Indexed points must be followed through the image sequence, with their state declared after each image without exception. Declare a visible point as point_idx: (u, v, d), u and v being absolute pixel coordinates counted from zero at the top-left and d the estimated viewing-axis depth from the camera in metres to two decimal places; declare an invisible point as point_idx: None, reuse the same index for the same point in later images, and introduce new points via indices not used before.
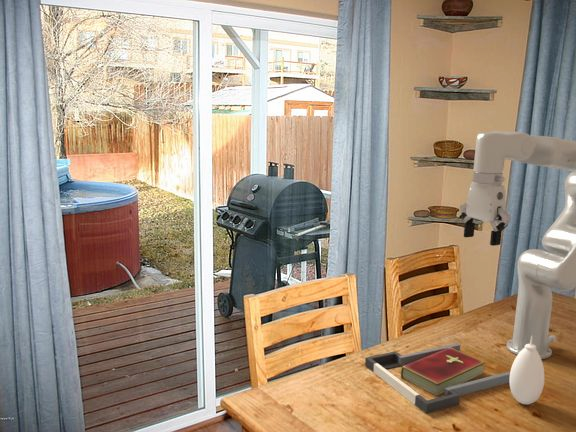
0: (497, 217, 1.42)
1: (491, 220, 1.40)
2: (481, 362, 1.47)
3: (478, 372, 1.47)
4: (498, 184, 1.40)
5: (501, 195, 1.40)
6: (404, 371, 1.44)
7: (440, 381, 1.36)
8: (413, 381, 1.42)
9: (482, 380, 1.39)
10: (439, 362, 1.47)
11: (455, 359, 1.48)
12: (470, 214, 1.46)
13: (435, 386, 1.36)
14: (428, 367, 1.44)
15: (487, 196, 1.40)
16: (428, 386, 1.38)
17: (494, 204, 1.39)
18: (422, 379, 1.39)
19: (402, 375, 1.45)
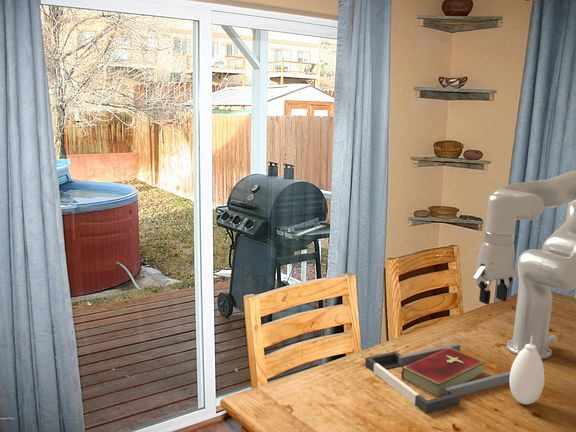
0: None
1: (512, 275, 1.48)
2: (481, 362, 1.47)
3: (478, 372, 1.47)
4: None
5: None
6: (405, 372, 1.44)
7: (441, 381, 1.36)
8: (414, 382, 1.42)
9: (482, 380, 1.39)
10: (440, 362, 1.46)
11: (455, 359, 1.48)
12: (493, 277, 1.45)
13: (436, 386, 1.36)
14: (428, 368, 1.43)
15: (511, 254, 1.46)
16: (429, 387, 1.38)
17: None
18: (423, 379, 1.39)
19: (403, 376, 1.44)
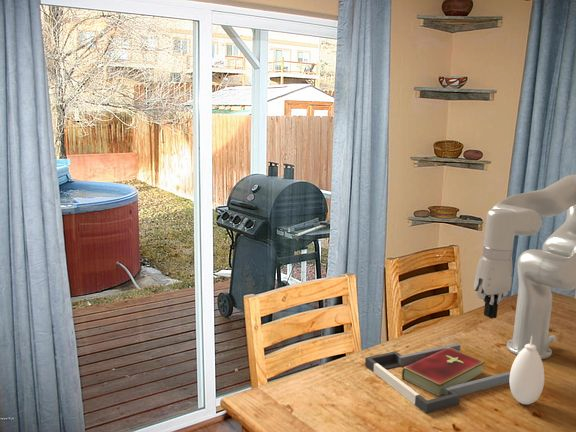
0: None
1: (509, 289, 1.49)
2: (481, 362, 1.48)
3: (478, 372, 1.47)
4: None
5: None
6: (405, 372, 1.44)
7: (442, 382, 1.36)
8: (415, 382, 1.41)
9: (482, 380, 1.39)
10: (440, 363, 1.46)
11: (455, 359, 1.48)
12: (491, 292, 1.46)
13: (437, 387, 1.36)
14: (429, 368, 1.43)
15: (509, 269, 1.47)
16: (430, 387, 1.38)
17: None
18: (424, 380, 1.39)
19: (403, 376, 1.44)
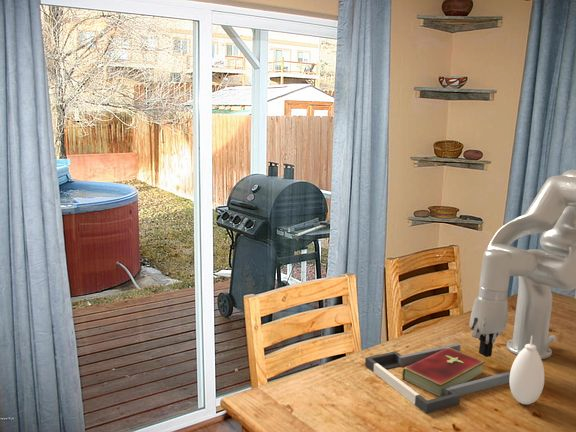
0: None
1: (504, 329, 1.51)
2: (481, 362, 1.48)
3: (478, 372, 1.47)
4: None
5: None
6: (406, 372, 1.43)
7: (443, 382, 1.36)
8: (415, 382, 1.41)
9: (482, 380, 1.39)
10: (440, 363, 1.46)
11: (455, 359, 1.48)
12: (486, 331, 1.48)
13: (438, 387, 1.36)
14: (429, 368, 1.43)
15: (504, 309, 1.49)
16: (431, 387, 1.37)
17: None
18: (425, 380, 1.39)
19: (404, 376, 1.44)
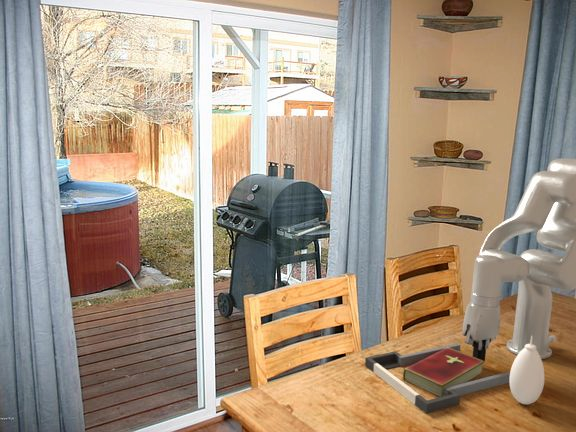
0: None
1: (497, 334, 1.50)
2: (481, 361, 1.48)
3: (478, 371, 1.47)
4: None
5: None
6: (406, 373, 1.43)
7: (444, 382, 1.36)
8: (416, 383, 1.41)
9: (482, 380, 1.39)
10: (440, 363, 1.46)
11: (455, 359, 1.48)
12: (479, 338, 1.47)
13: (439, 387, 1.35)
14: (430, 368, 1.43)
15: (497, 315, 1.48)
16: (432, 388, 1.37)
17: None
18: (426, 381, 1.38)
19: (404, 377, 1.43)
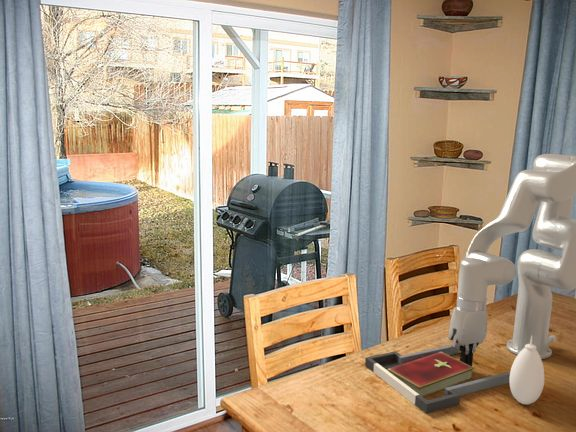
0: None
1: None
2: (470, 368, 1.45)
3: (467, 378, 1.45)
4: None
5: None
6: None
7: (423, 385, 1.35)
8: None
9: (482, 380, 1.39)
10: (427, 366, 1.45)
11: (443, 364, 1.46)
12: (465, 342, 1.45)
13: (418, 389, 1.35)
14: (414, 371, 1.42)
15: (483, 319, 1.46)
16: None
17: None
18: (406, 382, 1.38)
19: None
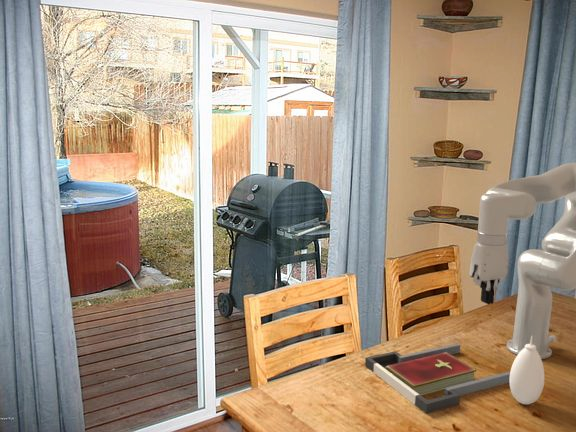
0: None
1: (506, 274, 1.47)
2: (472, 369, 1.43)
3: (468, 379, 1.43)
4: None
5: None
6: None
7: (418, 383, 1.35)
8: None
9: (482, 380, 1.39)
10: (427, 366, 1.44)
11: (445, 364, 1.45)
12: (487, 278, 1.44)
13: (412, 388, 1.35)
14: (412, 369, 1.42)
15: (505, 254, 1.45)
16: None
17: None
18: (402, 380, 1.39)
19: None
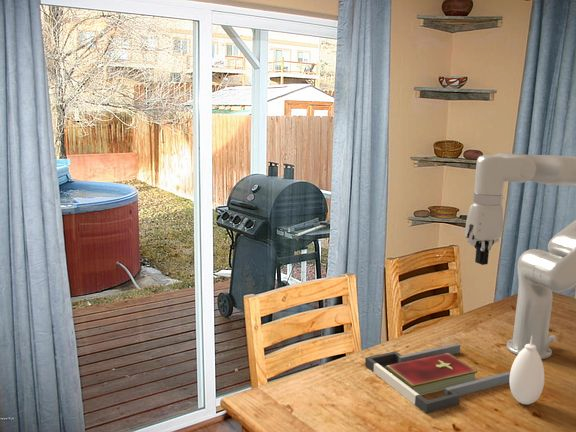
0: None
1: (500, 236, 1.51)
2: (473, 370, 1.42)
3: (469, 380, 1.42)
4: None
5: None
6: (388, 370, 1.44)
7: (417, 383, 1.35)
8: None
9: (482, 380, 1.39)
10: (427, 366, 1.44)
11: (446, 365, 1.45)
12: (482, 237, 1.47)
13: (412, 388, 1.35)
14: (412, 369, 1.42)
15: (499, 215, 1.48)
16: None
17: None
18: (402, 380, 1.39)
19: None
